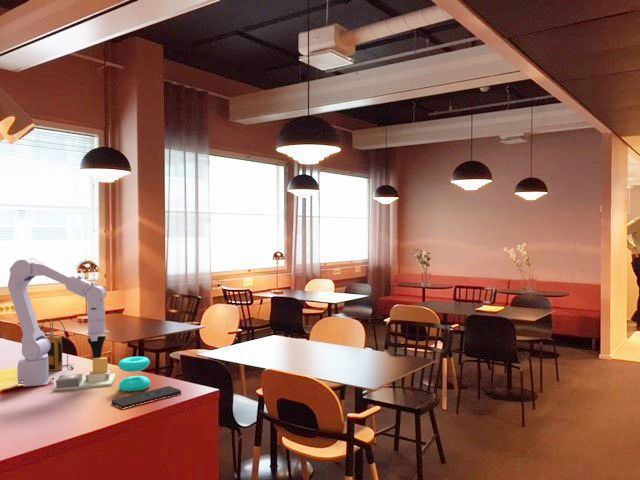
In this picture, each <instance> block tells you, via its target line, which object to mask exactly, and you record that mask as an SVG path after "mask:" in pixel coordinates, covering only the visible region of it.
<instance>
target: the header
mask: <svg viewBox="0 0 640 480" xmlns="http://www.w3.org/2000/svg"><path fill="white" fill-rule="evenodd" d="M111 374H112V370H111V369H109V368H108V372H106V373H102V374H93V370H89V371H87V373H86V374H85V376H86V382H88V381H100V380H109V378H110V376H111Z"/></svg>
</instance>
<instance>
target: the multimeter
mask: <svg viewBox="0 0 640 480" xmlns="http://www.w3.org/2000/svg"><path fill="white" fill-rule="evenodd" d="M46 320H47V321H48V322H49V335H45V336H46V338H47V339H48V340H49V341H50V344H51V347H50V350H49V351H48V352H47V354H48V368H49V371H55V372H58V371H62V370H63V367H66V368H67V370H68V371H70V370H71V371H72V370H73V369H74V366H73V365H75V363H70V364H69V363H68V362H69V350H67V355H66V364H63V342H62V341H63V339H62V336H61V335H54V334H55V333H54V322H55V321H56V319H54V320H53V321H52V323H51V322H50V320H49V319H48V318H45V319H44V320H43V322H42V324H41V329H40V330H41V331H43V326H44V323H45V322H46ZM57 321H58V322H59V323H61V325H62V328H63V330H64V333H65V338H66V342H67V345H69V341H68V334H67V331H66V328H65V327H64V324H63V322H62V321H61V320H60V319H57ZM69 366H70V368H69Z"/></svg>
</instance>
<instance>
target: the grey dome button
mask: <svg viewBox="0 0 640 480" xmlns="http://www.w3.org/2000/svg"><path fill="white" fill-rule="evenodd" d="M82 376H83V373H76V374H75V373H74V374H65V375H64V374H63V375H59V377H58V378H57V379H56V380H55V384H56V385H55V387H56V388H65V387H76V386H79V385H80V384H81V382H82Z"/></svg>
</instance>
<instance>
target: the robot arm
mask: <svg viewBox="0 0 640 480" xmlns="http://www.w3.org/2000/svg"><path fill="white" fill-rule="evenodd" d="M9 273H10V274H9V278H8V283H7V289H8V292H9V294H10V297H11V301H12V304H13V306H14V309H15V312H16V313H15V314H16V317H17V319H18V322H19V325H20V328H21V329H20V330H21V332H22V338H21V340H20V341H21V342H20V343H21V346H22V347H21V354H22V357H24V359H19V360H18V362H17V385H18V384H25V385H23V387H22V388H25V387H36V386H37V387H38V386H47V385H48V384H50V382H51V381H52V380H53V378H52V377H50V376H49V374H50V373H49V371H50V370H49V368H48V354H47V352H48V351H49V350H50V347H51V344H50V341H49V340H48V339H47V338H46V336H47V335H45V332H44V331H43V330H42V331H41V329H40V326H39V323H38V320H37V316H36V314H35V310H34V307H33V305H32V304H33V303H32V301H31V298H30V295H29V292H28V289H27V287H28V285H29V284H30V282H31V281H32V280H33V279H34V278H35V277H37V276H44V277H47V278H48V279H51V280H53V281H56V282H58V283H61V284H63V285H65V288H66V290H68V292H71V293H73V294H75V295H77V296H79V297H81V298H84V299H85V301H86V302H87V303H86V304H87V306H86V307H87V334H86V335H87V336H88V337H89V338H87V342H88V343H89V346H90V348H91V351H92V355H93V359H94V358H101V357H102V353H103V347H104V344H105V343H104V342H105V341H106V338H107V336H106V335H105V334H107V335H108V334H109V333H110V331H109V330H106V306H105V298H106V296H107V289H106V288H105V287H104V286H102V285H101V284H96V283H95V282H94V281H88V280H86V279H84V278H83V276H82V275H76V274H75V275H72V276H70V275H68V274H66V273H64V272H62V271H61V270H59V269H57V268H55V267H54V266H52V265H49V264H48V263H46V262H44V261H42V260H38V259H37V258H33V257H32V258H27V259H18V260H16V261H15V262H14V263H13V264H12V265H11V266H10V268H9ZM49 378H51V379H49ZM21 381H23V382H21Z"/></svg>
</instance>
